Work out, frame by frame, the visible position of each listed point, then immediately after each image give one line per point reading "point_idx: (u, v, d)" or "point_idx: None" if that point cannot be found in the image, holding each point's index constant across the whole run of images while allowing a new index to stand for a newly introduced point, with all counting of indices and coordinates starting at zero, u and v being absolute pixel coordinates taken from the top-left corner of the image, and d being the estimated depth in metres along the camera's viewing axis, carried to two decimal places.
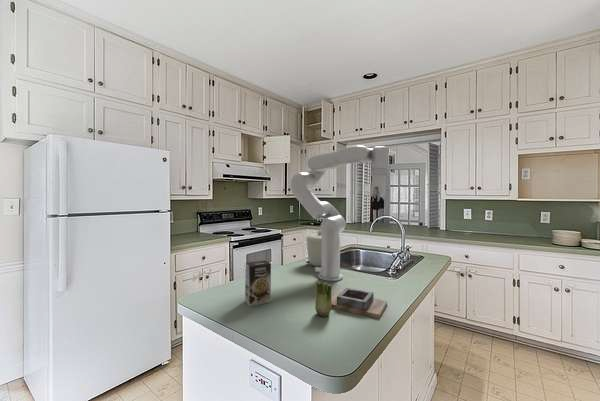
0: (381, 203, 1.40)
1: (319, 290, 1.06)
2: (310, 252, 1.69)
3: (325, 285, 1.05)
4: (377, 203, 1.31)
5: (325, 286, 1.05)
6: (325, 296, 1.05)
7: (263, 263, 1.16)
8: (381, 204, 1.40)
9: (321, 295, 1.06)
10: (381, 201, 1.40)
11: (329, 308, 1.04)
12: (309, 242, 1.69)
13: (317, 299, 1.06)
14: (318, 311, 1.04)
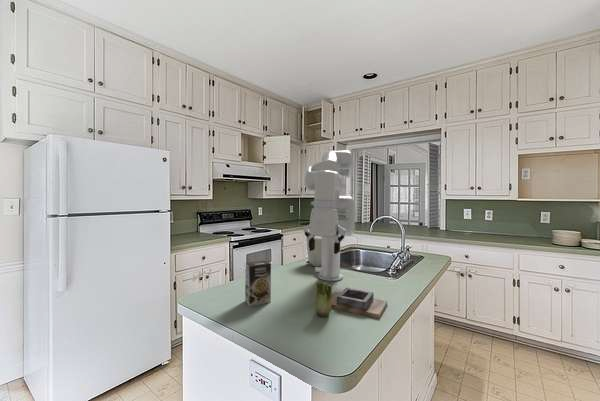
0: (313, 243, 1.07)
1: (319, 290, 1.06)
2: (310, 252, 1.69)
3: (325, 285, 1.05)
4: None
5: (325, 286, 1.05)
6: (325, 296, 1.05)
7: (263, 263, 1.16)
8: (313, 244, 1.07)
9: (321, 295, 1.06)
10: (313, 240, 1.07)
11: (329, 308, 1.04)
12: None
13: (317, 299, 1.06)
14: (318, 311, 1.04)
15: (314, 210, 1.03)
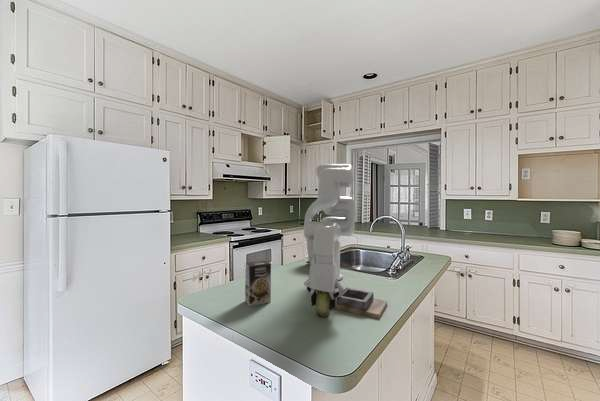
0: (315, 298, 1.08)
1: None
2: (310, 252, 1.69)
3: None
4: None
5: None
6: (325, 296, 1.05)
7: (263, 263, 1.16)
8: (315, 299, 1.08)
9: (321, 295, 1.06)
10: (315, 295, 1.08)
11: (329, 308, 1.04)
12: (309, 242, 1.69)
13: (317, 299, 1.06)
14: (318, 311, 1.04)
15: (313, 264, 1.04)
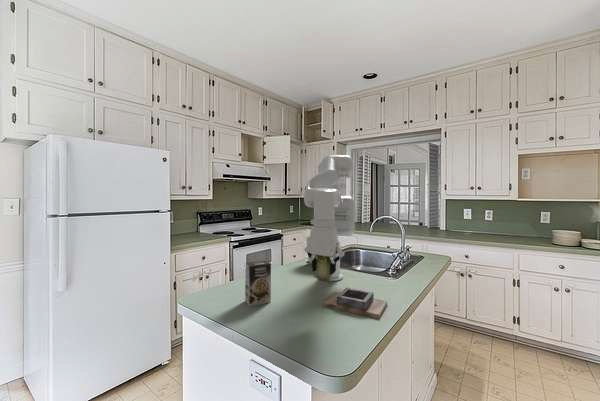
0: (316, 263, 1.08)
1: (319, 255, 1.06)
2: None
3: None
4: None
5: None
6: (325, 261, 1.05)
7: (263, 263, 1.16)
8: None
9: (321, 260, 1.05)
10: (316, 261, 1.07)
11: (329, 273, 1.04)
12: None
13: (317, 264, 1.06)
14: (318, 276, 1.04)
15: (313, 229, 1.04)
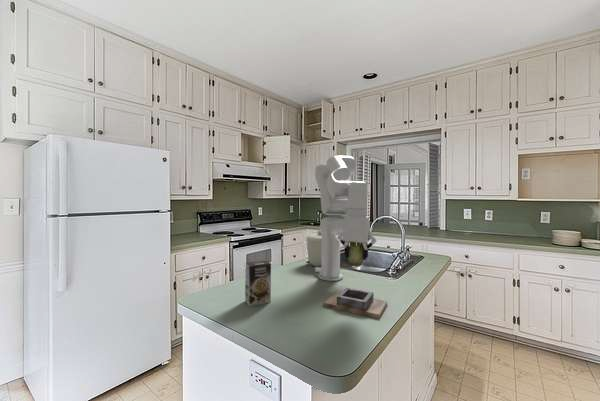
0: (348, 250, 1.16)
1: (352, 242, 1.14)
2: (310, 252, 1.69)
3: None
4: None
5: None
6: (358, 248, 1.13)
7: (263, 263, 1.16)
8: (348, 251, 1.16)
9: (354, 247, 1.13)
10: (348, 248, 1.15)
11: (362, 258, 1.12)
12: (309, 242, 1.69)
13: (350, 251, 1.14)
14: (351, 261, 1.12)
15: (347, 218, 1.12)
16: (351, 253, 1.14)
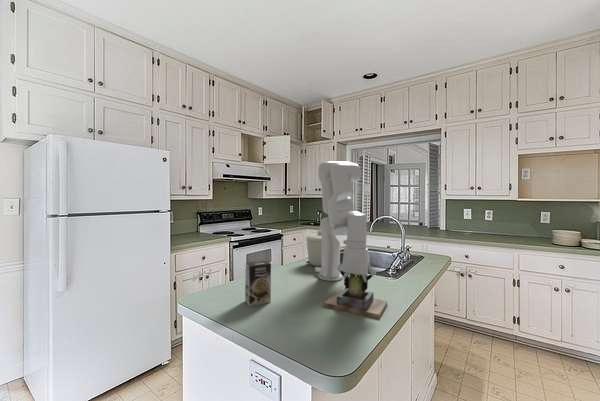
0: (348, 281, 1.16)
1: (352, 274, 1.14)
2: (310, 252, 1.69)
3: None
4: None
5: None
6: (358, 279, 1.13)
7: (263, 263, 1.16)
8: (348, 282, 1.16)
9: (354, 278, 1.14)
10: (348, 279, 1.16)
11: (361, 290, 1.12)
12: (309, 242, 1.69)
13: (350, 282, 1.15)
14: (351, 293, 1.13)
15: (347, 249, 1.13)
16: (351, 284, 1.14)
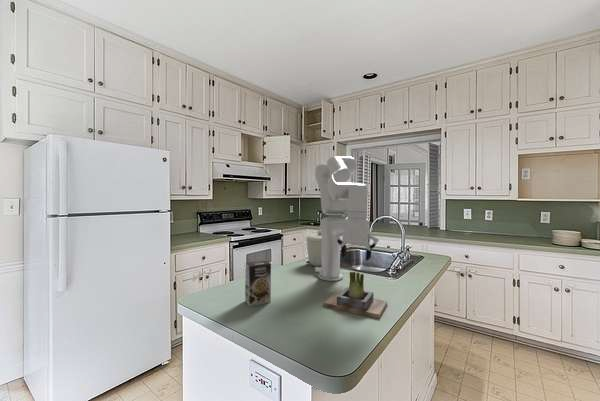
0: (345, 250, 1.17)
1: (352, 278, 1.15)
2: (310, 252, 1.69)
3: (357, 274, 1.14)
4: None
5: (357, 275, 1.14)
6: (358, 284, 1.13)
7: (263, 263, 1.16)
8: (345, 251, 1.17)
9: (354, 283, 1.14)
10: (345, 247, 1.16)
11: (361, 295, 1.13)
12: (309, 242, 1.69)
13: (350, 287, 1.15)
14: None
15: (347, 220, 1.12)
16: (351, 289, 1.14)
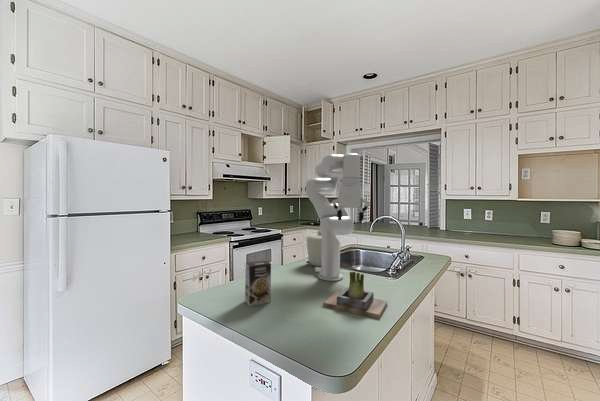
0: (341, 214, 1.30)
1: (352, 278, 1.15)
2: (310, 252, 1.69)
3: (358, 274, 1.14)
4: None
5: (358, 275, 1.14)
6: (358, 284, 1.13)
7: (263, 263, 1.16)
8: (341, 215, 1.30)
9: (354, 283, 1.14)
10: (341, 212, 1.30)
11: (361, 295, 1.13)
12: (309, 242, 1.69)
13: (350, 287, 1.15)
14: None
15: (342, 186, 1.26)
16: (351, 289, 1.14)
